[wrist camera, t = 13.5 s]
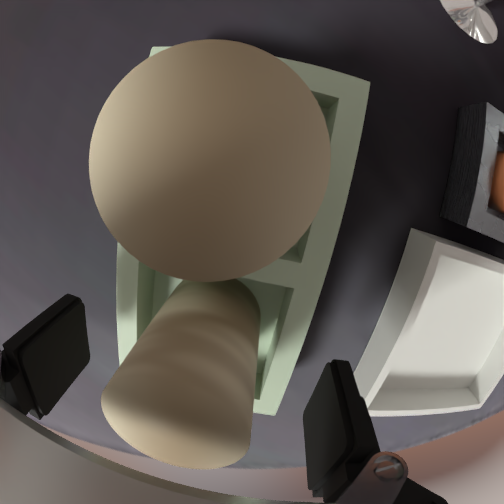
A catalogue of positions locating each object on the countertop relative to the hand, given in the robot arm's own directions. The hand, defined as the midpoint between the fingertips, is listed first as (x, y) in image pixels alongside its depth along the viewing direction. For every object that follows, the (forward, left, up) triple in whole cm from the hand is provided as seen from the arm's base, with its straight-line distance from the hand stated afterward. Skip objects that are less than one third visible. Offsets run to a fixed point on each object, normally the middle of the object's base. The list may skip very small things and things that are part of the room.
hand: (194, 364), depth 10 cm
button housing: (-13, -10, -5) cm, 17 cm away
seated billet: (0, -7, -4) cm, 8 cm away
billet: (0, 0, -4) cm, 4 cm away
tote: (-14, -1, -5) cm, 15 cm away
